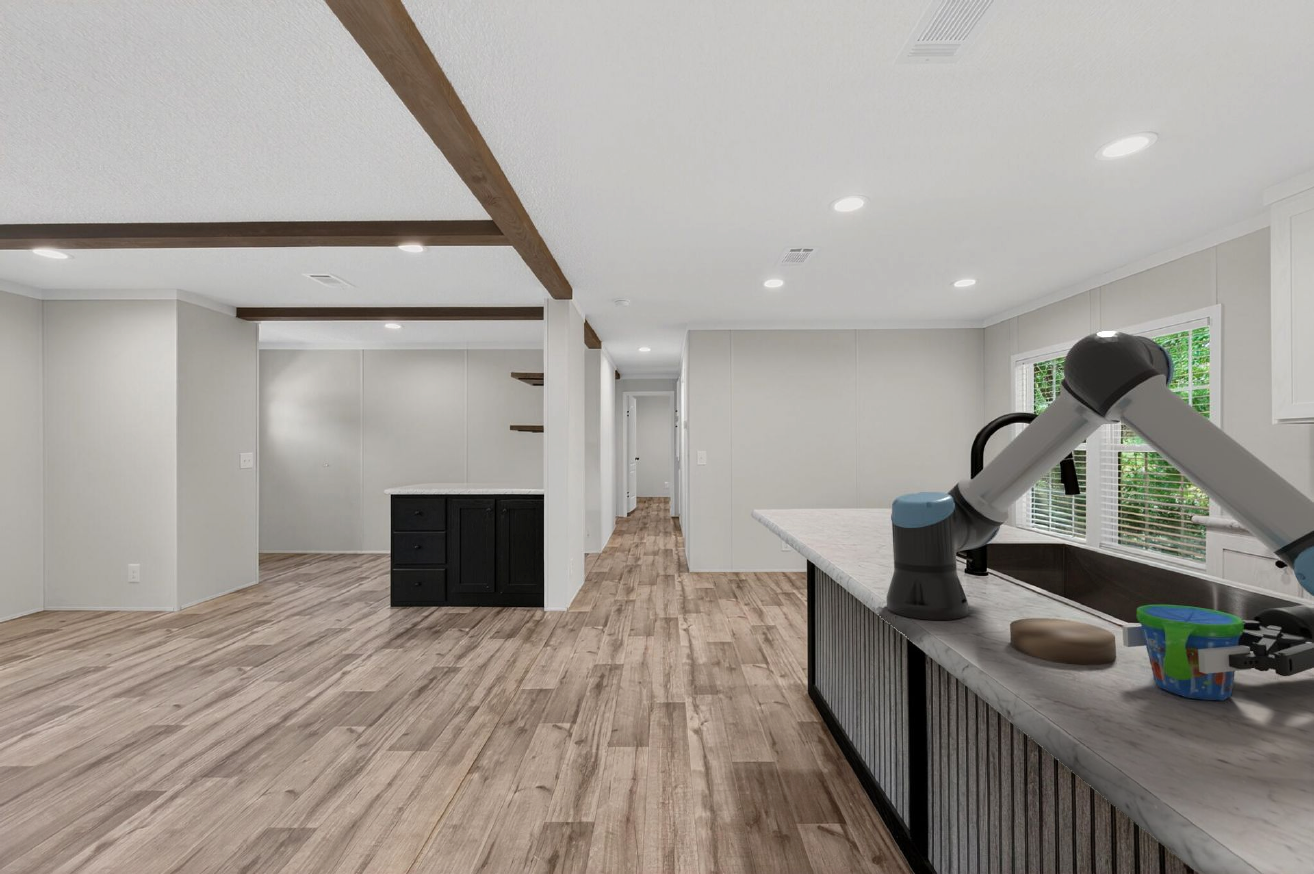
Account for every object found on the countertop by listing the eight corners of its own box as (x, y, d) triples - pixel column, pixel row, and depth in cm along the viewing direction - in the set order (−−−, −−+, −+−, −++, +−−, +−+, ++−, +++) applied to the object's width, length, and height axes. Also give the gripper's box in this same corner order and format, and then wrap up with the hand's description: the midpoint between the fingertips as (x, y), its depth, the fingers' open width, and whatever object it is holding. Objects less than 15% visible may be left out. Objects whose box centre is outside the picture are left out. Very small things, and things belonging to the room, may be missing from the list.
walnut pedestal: (991, 638, 102) (990, 621, 102) (1064, 632, 104) (1064, 615, 104) (1057, 667, 88) (1056, 647, 88) (1140, 660, 90) (1139, 640, 90)
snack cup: (1164, 666, 87) (1160, 596, 87) (1265, 689, 78) (1260, 611, 78) (1119, 692, 79) (1114, 615, 79) (1226, 721, 70) (1220, 634, 70)
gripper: (1421, 695, 70) (1259, 713, 67) (1219, 638, 92) (1090, 649, 89) (1417, 631, 70) (1255, 645, 67) (1216, 589, 92) (1087, 599, 89)
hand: (1161, 648), depth 78 cm, fingers closed on snack cup, 9 cm apart
